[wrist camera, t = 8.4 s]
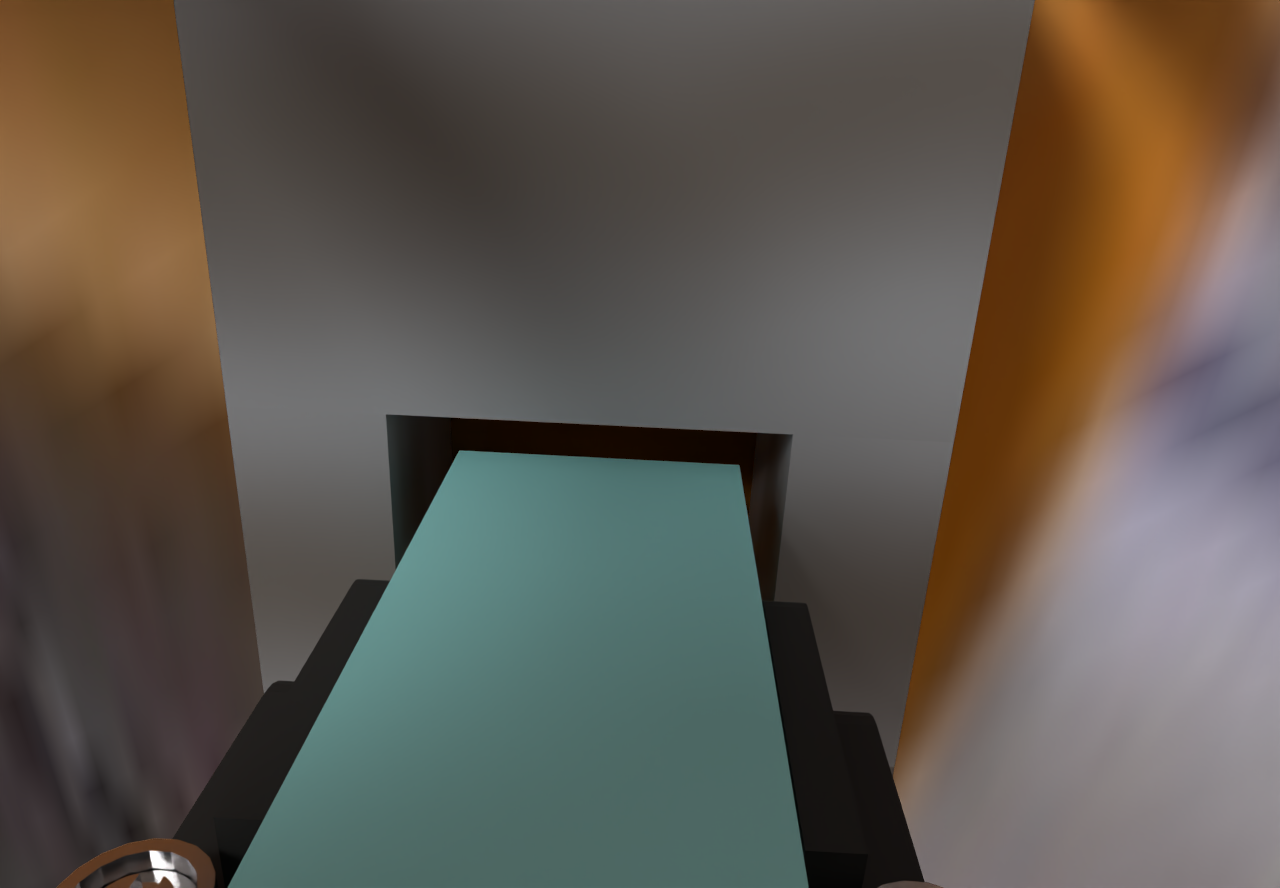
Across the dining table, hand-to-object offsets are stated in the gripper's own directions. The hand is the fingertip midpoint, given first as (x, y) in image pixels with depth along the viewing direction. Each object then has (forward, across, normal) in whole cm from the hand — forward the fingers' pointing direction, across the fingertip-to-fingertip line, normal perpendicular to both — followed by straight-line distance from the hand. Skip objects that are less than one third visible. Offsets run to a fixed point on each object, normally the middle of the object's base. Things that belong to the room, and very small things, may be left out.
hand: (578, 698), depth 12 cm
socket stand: (+7, 0, -3) cm, 7 cm away
